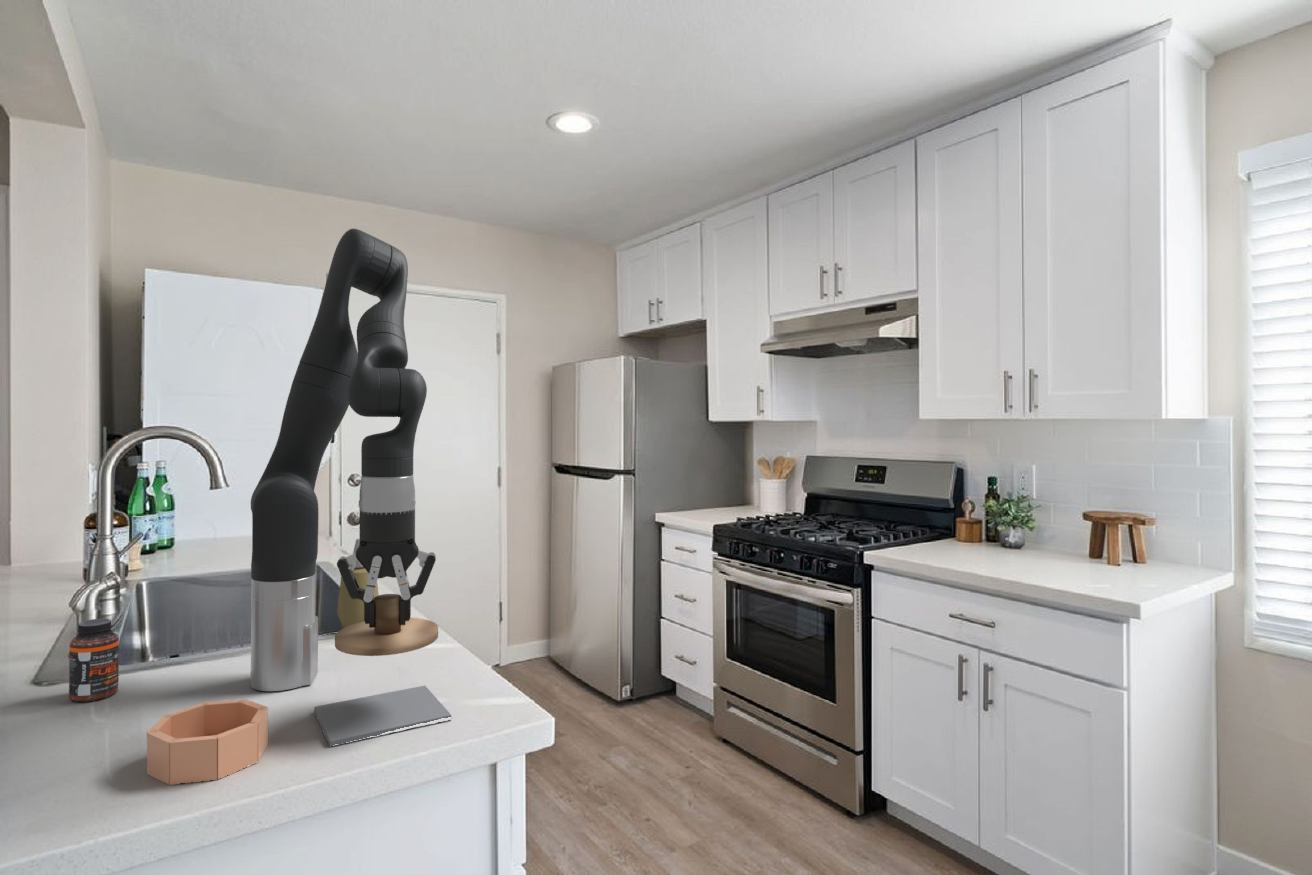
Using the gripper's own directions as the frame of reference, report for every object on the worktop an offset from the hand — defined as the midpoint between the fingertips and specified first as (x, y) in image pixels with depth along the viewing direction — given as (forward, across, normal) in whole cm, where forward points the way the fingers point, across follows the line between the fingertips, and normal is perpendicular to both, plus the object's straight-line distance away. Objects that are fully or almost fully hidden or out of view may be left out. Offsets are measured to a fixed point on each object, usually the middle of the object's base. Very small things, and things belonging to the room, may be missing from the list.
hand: (387, 624), depth 104 cm
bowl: (+13, +20, +8) cm, 26 cm away
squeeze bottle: (+13, +8, -45) cm, 48 cm away
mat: (+13, +1, +1) cm, 13 cm away
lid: (+2, 0, 0) cm, 2 cm away
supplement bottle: (+13, +43, -18) cm, 48 cm away
